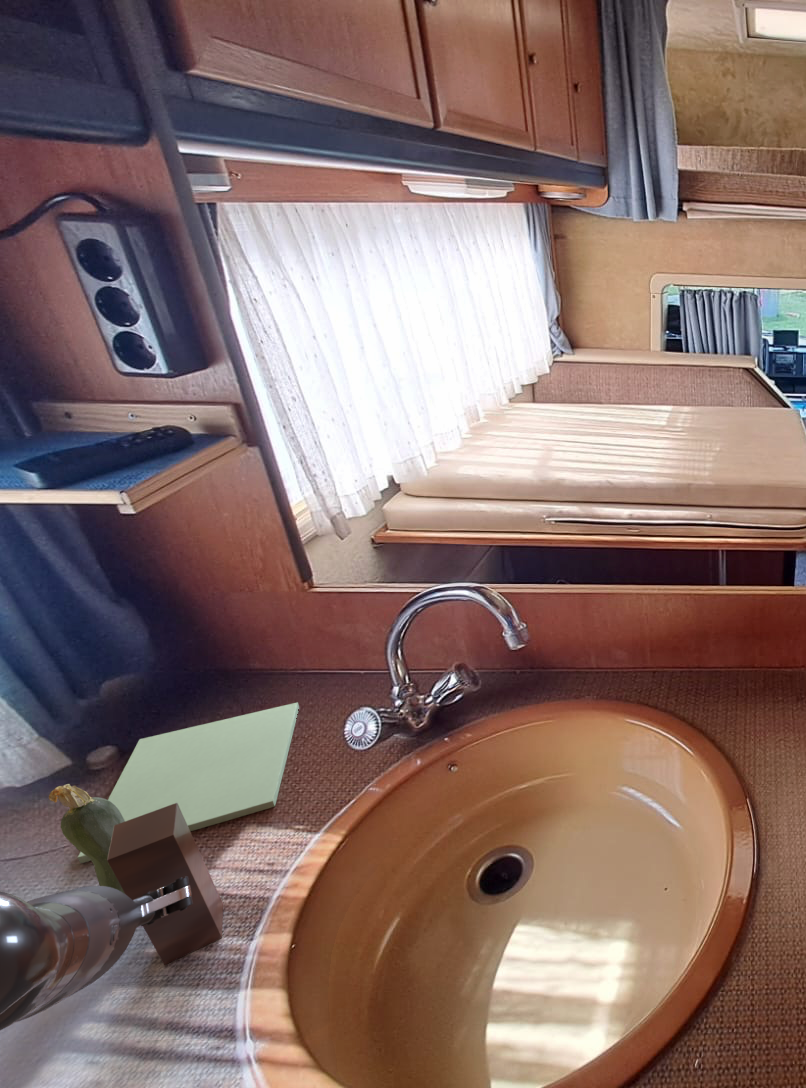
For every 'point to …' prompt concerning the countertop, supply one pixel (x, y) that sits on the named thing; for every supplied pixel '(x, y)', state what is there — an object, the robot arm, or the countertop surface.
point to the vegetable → (90, 828)
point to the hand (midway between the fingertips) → (126, 918)
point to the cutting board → (209, 769)
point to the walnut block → (167, 879)
